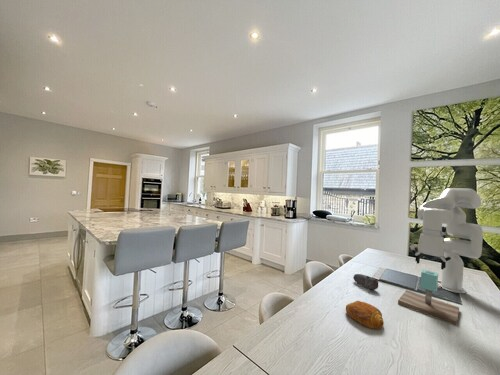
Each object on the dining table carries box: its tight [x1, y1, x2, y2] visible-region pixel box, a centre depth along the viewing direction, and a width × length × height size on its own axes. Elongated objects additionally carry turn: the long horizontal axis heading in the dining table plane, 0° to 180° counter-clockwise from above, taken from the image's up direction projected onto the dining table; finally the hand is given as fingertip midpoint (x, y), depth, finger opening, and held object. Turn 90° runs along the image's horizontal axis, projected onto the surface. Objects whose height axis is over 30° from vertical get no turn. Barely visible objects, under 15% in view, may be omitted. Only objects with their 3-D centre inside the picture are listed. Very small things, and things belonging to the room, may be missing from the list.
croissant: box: [345, 300, 384, 330], centre depth 96 cm, size 14×16×8 cm
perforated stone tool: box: [353, 273, 379, 291], centre depth 130 cm, size 15×5×7 cm, turn 27°
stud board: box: [397, 289, 460, 326], centre depth 109 cm, size 18×22×11 cm
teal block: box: [420, 269, 439, 293], centre depth 109 cm, size 6×6×8 cm
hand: (429, 265), depth 109 cm, fingers open, 9 cm apart
